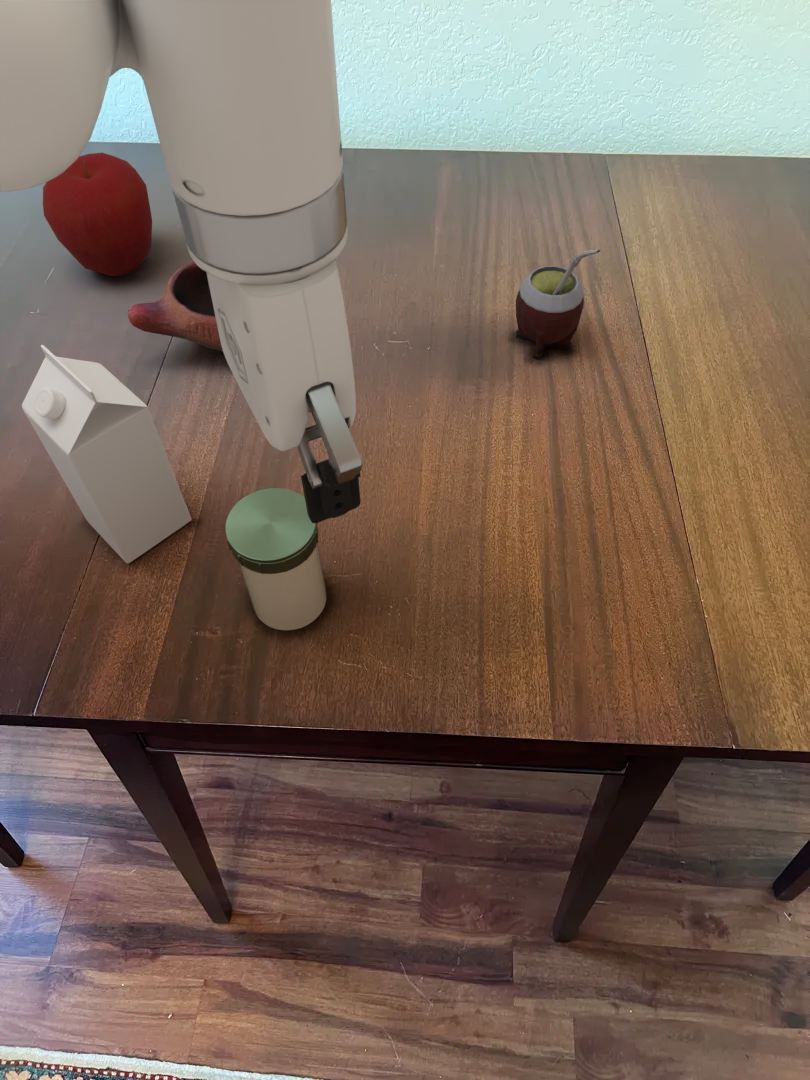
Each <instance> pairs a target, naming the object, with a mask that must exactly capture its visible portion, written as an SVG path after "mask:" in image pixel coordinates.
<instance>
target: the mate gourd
mask: <svg viewBox="0 0 810 1080" xmlns="http://www.w3.org/2000/svg"><path fill="white" fill-rule="evenodd" d="M601 251H602V250H601V249H590V250H583V251H581V252H578V254H575V255H574V256H573V258H572V259H571V260H570V262H569V266H568V267H567V268H565V267H561V266H557V265H545V266H541V267H538V268H535V269H534V270H533V271H531V272H530V273H528V275H527V276H525V277H524V279H523V281H522V282H521V284H520V287H519V290H518V292H517V294H516V298H515V318H516V323H517V330H516V331H515V338H517V339H521V340H525V341H528V342H533V343H535V348H534V351H533V354H532V359H534V360H537V361H538V360H540V359H541V357H542V354H543V352H544V349H545V348H546V346H549V347H554V348H558V349H563V350H567V351H568V350H570V349H571V347H572V344H573V343H572V342H571V340H572V339H573V337H574V335H575V334H576V332H577V331H578V327H579V324H580V322H581V318H582V317H581V316H582V313H583V311H584V305H585V297H584V295H585V294H584V289H583V286H582V283H581V281H580V280H579V278H578V276H577V275H575V273H573V271H574V270H575V268H576V267H578V265H579V264H580V263H581V262H582V259H584V258H586V257H588V256H592V255H595V254H599V253H600V252H601Z"/></svg>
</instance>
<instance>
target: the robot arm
mask: <svg viewBox="0 0 810 1080" xmlns="http://www.w3.org/2000/svg"><path fill="white" fill-rule="evenodd" d="M335 50H336V49H335V36H334V22H333V8H332V0H0V193H7V192H17V191H22V190H27V189H31V188H36V187H39V186H41V185H44V184H46V182H47V181H49V180H51V179H53V178H55V177H57V176H59V175H60V174H61V173H63V172H64V171H65V170H66V169H67V168H68V167H69V166H70V165H72V164H73V163H74V162H75V161H76V160H77V158H78V157H79V156H81V155H82V153H83V152H84V150H85V149H86V147H87V146H88V143H89V142H90V140H91V138H92V135H93V133H94V131H95V128H96V125H97V121H98V119H99V116H100V113H101V110H102V107H103V103H104V100H105V96H106V92H107V88H108V85H109V82H110V78H111V77H112V76H113V75H114V74H116V73H117V72H119V71H120V70H122V69H130V70H133V71H134V72H136V73H137V74H138V75H139V76H140V78H141V80H142V81H143V85H144V88H145V92H146V96H147V99H148V103H149V107H150V110H151V111H150V112H151V115H152V118H153V122H154V123H153V124H154V126H155V130H156V134H157V137H158V141H159V145H160V148H161V153H162V156H163V160H164V164H165V168H166V172H167V175H168V179H169V183H170V186H171V190H172V194H173V197H174V202H175V205H176V210H177V212H178V216H179V221H180V224H181V228H182V232H183V235H184V239H185V243H186V247H187V248H186V249H187V252H188V254H189V256H190V257H191V260H192V261H194V262H195V263H196V265H197V266H199V267H200V268H201V269H202V270H204V271H206V272H207V278H208V283H209V288H210V293H211V297H212V302H213V307H214V312H215V317H216V322H217V327H218V332H219V337H220V342H221V346H222V349H223V351H222V353H223V356H224V358H225V360H226V362H227V365H228V367H229V369H230V372H231V373H232V376H233V377H234V379H235V381H236V383H237V385H238V387H239V389H240V391H241V393H242V395H243V397H244V399H245V402H246V404H247V405H248V408H249V409H250V411H251V413H252V415H253V417H254V418H255V420H256V423H257V424H258V426H259V428H260V430H261V432H262V433H263V435H264V437H265V439H266V440H267V442H268V443H269V445H270V446H272V447H273V448H274V449H276V450H278V451H280V452H286V451H288V450H291V449H294V448H297V451H298V453H299V457H300V459H301V462H302V465H303V469H304V471H305V473H303V474H302V475H300V479H301V485H302V490H303V491H302V492H303V497H305V502H306V508H307V513H308V516H309V518H310V520H311V522H312V523H321V522H324V521H326V520H328V519H335V518H338V517H341V516H344V515H345V514H347V513H349V512H350V511H352V510H355V509H357V508H358V507H360V505H361V493H360V492H361V491H360V480H359V478H360V477H361V471H362V468H363V460H362V457H361V455H360V452H359V449H358V447H357V445H356V442H355V439H354V438H353V435H352V433H351V430H350V429H351V427H352V425H353V424H354V422H355V420H356V415H357V395H356V393H357V392H356V380H355V372H354V363H353V361H354V360H353V353H352V346H351V338H350V332H349V327H348V326H349V325H348V319H347V313H346V312H347V311H346V307H345V298H344V295H343V290H342V284H341V278H340V272H339V268H338V263H337V258H338V257H339V256H340V255H341V253H342V252H343V250H344V248H345V247H346V245H347V240H348V238H349V227H348V217H347V202H346V190H345V189H346V187H345V175H344V161H343V145H342V132H341V118H340V117H341V116H340V104H339V93H338V92H339V91H338V78H337V67H336V66H337V65H336V51H335ZM309 413H310V414H311V415H312V418H313V420H314V423H315V424H313V425H310V426H308V423H309V419H310V415H309ZM319 438H321V439H322V442H323V444H324V447H325V450H326V452H327V456H328V459H325V460H322V461H320V462H317V461H316V457H315V455H314V453H313V452H314V451H313V449H312V446H311V441H314V440H316V439H319Z"/></svg>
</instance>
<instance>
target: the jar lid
mask: <svg viewBox="0 0 810 1080" xmlns="http://www.w3.org/2000/svg"><path fill="white" fill-rule="evenodd" d="M318 523H319V522H318ZM318 523H312V522H311V520H310V518H309V516H308V513H307V508H306V502H305V497H304V495H302V494H300V493H299V492H297V491H294V490H292V489H288V488H283V487H268V488H262V489H258V490H256V491H253V492H251V493H249V494H247V495H245V496H244V497H241V499H239V500H238V501H237V502H236V503H235V504H234V505H233V507H232V508H231V509H230V511H229V512H228V514H227V517H226V520H225V526H224V527H225V529H224V530H225V536H226V544H227V547H228V548H229V549H228V550H229V551H231V553H232V556H233V557H234V558H235V560H236V562H239V563H240V564H241V566H244V567H245V568H247V569H249V570H251V571H254V572H257V573H262V574H277V573H282V572H287V571H289V570H292V569H294V568H296V567H298V566H299V565H301V564H302V563H303V562H304V561H306V560H308V558H309V557H310V555H311V554H312V553H313V551H314V549H315V547H316V545H317V543H319V527H318ZM239 563H238V564H239Z"/></svg>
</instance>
